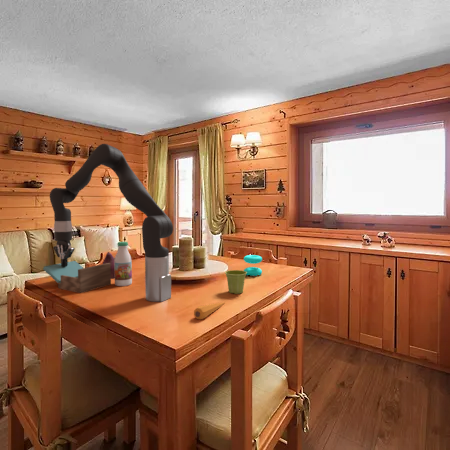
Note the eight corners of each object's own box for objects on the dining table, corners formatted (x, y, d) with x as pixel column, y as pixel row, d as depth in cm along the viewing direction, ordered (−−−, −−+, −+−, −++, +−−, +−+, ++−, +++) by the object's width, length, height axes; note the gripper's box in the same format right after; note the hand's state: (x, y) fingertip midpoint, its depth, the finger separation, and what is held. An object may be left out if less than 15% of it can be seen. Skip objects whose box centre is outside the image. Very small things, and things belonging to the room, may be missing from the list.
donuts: (243, 254, 169) (261, 254, 169) (243, 272, 170) (261, 272, 169) (244, 257, 159) (263, 257, 159) (243, 276, 160) (262, 276, 159)
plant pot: (221, 290, 134) (221, 270, 133) (240, 288, 138) (240, 269, 137) (230, 296, 125) (230, 275, 125) (250, 293, 129) (250, 273, 129)
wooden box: (110, 284, 143) (110, 263, 142) (80, 293, 129) (80, 269, 128) (89, 280, 150) (88, 260, 149) (58, 288, 135) (57, 266, 135)
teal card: (89, 273, 149) (75, 260, 154) (59, 280, 135) (43, 266, 139) (88, 277, 150) (73, 264, 154) (57, 285, 136) (42, 271, 140)
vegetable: (114, 285, 153) (113, 258, 148) (96, 281, 155) (94, 255, 150) (125, 275, 163) (124, 250, 158) (108, 272, 165) (106, 246, 159)
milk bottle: (111, 284, 143) (110, 242, 141) (126, 281, 149) (126, 240, 147) (119, 287, 138) (119, 243, 136) (135, 284, 143) (134, 242, 142)
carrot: (200, 323, 99) (205, 311, 98) (189, 316, 101) (194, 304, 100) (227, 310, 117) (232, 300, 116) (218, 304, 119) (222, 294, 118)
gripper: (79, 230, 144) (80, 266, 146) (61, 229, 150) (62, 263, 152) (64, 231, 138) (66, 269, 139) (46, 230, 144) (48, 266, 145)
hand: (64, 266), depth 145 cm, fingers closed
